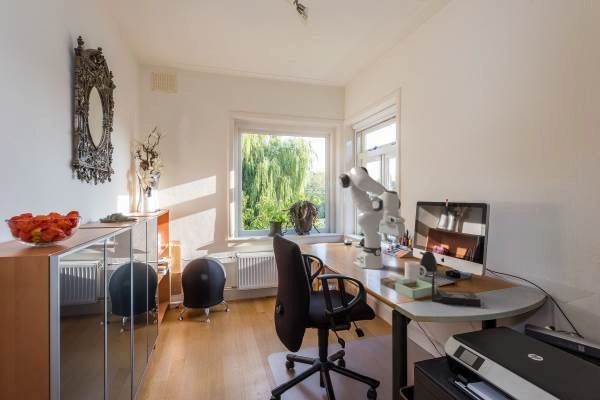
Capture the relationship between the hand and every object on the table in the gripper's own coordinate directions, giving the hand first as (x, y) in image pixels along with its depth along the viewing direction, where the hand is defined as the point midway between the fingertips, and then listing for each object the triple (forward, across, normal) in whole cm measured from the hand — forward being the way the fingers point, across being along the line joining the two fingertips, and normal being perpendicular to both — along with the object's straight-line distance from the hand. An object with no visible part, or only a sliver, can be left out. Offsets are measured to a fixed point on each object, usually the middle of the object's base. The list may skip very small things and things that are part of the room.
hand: (391, 242), depth 167 cm
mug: (+24, +1, +16) cm, 28 cm away
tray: (+24, +20, +1) cm, 31 cm away
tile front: (+20, +10, 0) cm, 23 cm away
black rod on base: (+25, +34, +11) cm, 43 cm away
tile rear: (+20, +5, -1) cm, 21 cm away
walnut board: (+23, +7, -1) cm, 24 cm away
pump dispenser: (+23, -5, +30) cm, 38 cm away
